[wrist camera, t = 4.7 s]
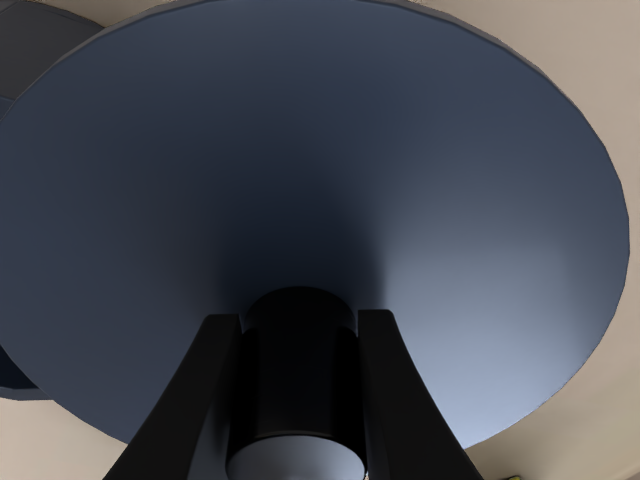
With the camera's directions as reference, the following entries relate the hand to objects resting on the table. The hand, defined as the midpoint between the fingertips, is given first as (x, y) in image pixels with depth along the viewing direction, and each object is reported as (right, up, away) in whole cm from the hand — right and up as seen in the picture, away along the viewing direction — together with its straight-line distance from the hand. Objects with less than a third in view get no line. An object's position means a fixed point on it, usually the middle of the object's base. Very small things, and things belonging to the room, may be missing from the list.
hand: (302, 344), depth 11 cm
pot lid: (0, +1, +1) cm, 1 cm away
